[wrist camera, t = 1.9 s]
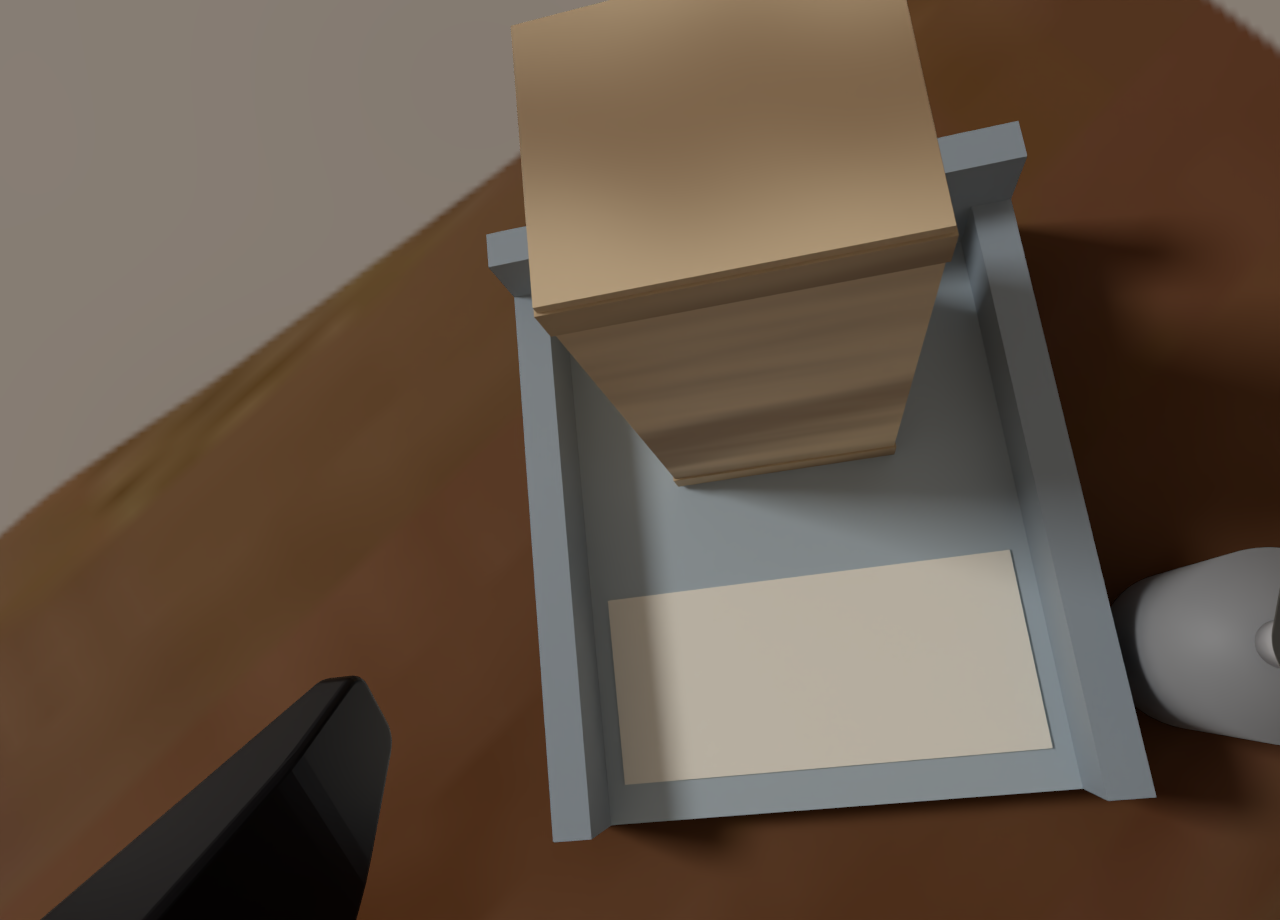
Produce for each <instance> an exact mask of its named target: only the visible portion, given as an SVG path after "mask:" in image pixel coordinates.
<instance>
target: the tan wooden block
mask: <svg viewBox="0 0 1280 920" xmlns="http://www.w3.org/2000/svg"><path fill="white" fill-rule="evenodd" d="M511 34H512V48H513V60H514V73H515V86H516V99H517V112H518V125H519V138H520V151H521V164H522V177H523V190H524V203H525V216H526V229H527V242H528V255H529V268H530V281H531V294H532V307H533V310H534V318H535V319H536V320H537V321H538V322H539V323H540V325H541V326H542V327H543V328H544V329H545V331H546V332H547V333H548V334H549V335H550V336H551V337H553V336H556V337H557V338H558V339H559V340H560V342H561V343H562V344H563V345H564V346H565V348H566V349H567V350H568V351H569V352H570V354H571V355H572V356H573V357H574V358H575V360H576V361H577V362H578V363H579V364H580V366H581V367H582V368H583V369H584V370H585V372H586V373H587V374H588V375H589V376H590V378H591V379H592V380H593V381H594V382H595V384H596V385H597V386H598V387H599V388H600V390H601V391H602V392H603V393H604V394H605V396H606V397H607V398H608V399H609V400H610V402H611V403H612V404H613V405H614V406H615V408H616V409H617V410H618V411H619V412H620V414H621V415H622V416H623V417H624V418H625V420H626V421H627V422H628V423H629V424H630V426H631V427H632V428H633V429H634V430H635V432H636V433H637V434H638V435H639V436H640V438H641V439H642V440H643V441H644V442H645V444H646V445H647V446H648V447H649V448H650V450H651V451H652V452H653V453H654V454H655V456H656V457H657V458H658V459H659V460H660V462H661V463H662V464H663V465H664V466H665V468H666V469H667V470H668V471H669V472H670V474H671V475H672V476H673V481H674V482H675V483H676V485H677V486H678V487H680V486H687V485H693V484H700V483H707V482H713V481H720V480H727V479H733V478H740V477H747V476H753V475H760V474H767V473H773V472H780V471H787V470H793V469H800V468H807V467H814V466H820V465H827V464H834V463H840V462H847V461H854V460H860V459H867V458H874V457H880V456H887V455H894V454H895V450H896V443H895V441H896V437H897V434H898V430H899V427H900V423H901V420H902V416H903V413H904V409H905V406H906V402H907V398H908V395H909V391H910V388H911V384H912V381H913V377H914V374H915V370H916V367H917V363H918V360H919V356H920V352H921V349H922V345H923V342H924V338H925V335H926V331H927V328H928V324H929V321H930V317H931V314H932V310H933V306H934V303H935V299H936V296H937V292H938V289H939V285H940V282H941V278H942V275H943V271H944V267H945V264H946V263H947V262H951V260H952V257H953V253H954V250H955V247H956V243H957V240H958V236H959V233H958V229H957V224H956V220H955V215H954V211H953V206H952V202H951V197H950V193H949V189H948V184H947V180H946V175H945V171H944V166H943V162H942V157H941V153H940V148H939V144H938V139H937V135H936V130H935V126H934V121H933V117H932V112H931V108H930V103H929V99H928V94H927V90H926V85H925V81H924V76H923V72H922V67H921V63H920V58H919V54H918V49H917V45H916V40H915V36H914V32H913V27H912V23H911V18H910V14H909V9H908V5H907V0H609V1H605V2H601V3H597V4H593V5H590V6H586V7H582V8H578V9H574V10H571V11H567V12H563V13H559V14H555V15H551V16H547V17H543V18H539V19H536V20H532V21H528V22H524V23H520V24H517V25H513V26H511Z"/></svg>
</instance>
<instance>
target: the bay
mask: <svg viewBox="0 0 1280 920" xmlns="http://www.w3.org/2000/svg"><path fill="white" fill-rule="evenodd" d="M937 139H938V144H939V148H940V153H941V157H942V162H943V166H944V171H945V175H946V180H947V184H948V189H949V193H950V197H951V202H952V206H953V211H954V215H955V220H956V224H957V229H958V233H959V236H958V240H957V243H956V247H955V250H954V253H953V257H952V260H951V262H947V263H946V264H945V267H944V271H943V275H942V278H941V282H940V285H939V289H938V292H937V296H936V299H935V303H934V306H933V310H932V314H931V317H930V321H929V324H928V328H927V331H926V335H925V338H924V342H923V345H922V349H921V352H920V356H919V360H918V363H917V367H916V370H915V374H914V377H913V381H912V384H911V388H910V391H909V395H908V398H907V402H906V406H905V409H904V413H903V416H902V420H901V423H900V427H899V430H898V434H897V437H896V441H895V443H896V450H895V454H894V455H887V456H880V457H874V458H867V459H860V460H854V461H847V462H840V463H834V464H827V465H820V466H814V467H807V468H800V469H793V470H787V471H780V472H773V473H767V474H760V475H753V476H747V477H740V478H733V479H727V480H720V481H713V482H707V483H700V484H693V485H687V486H680V487H678V486H677V485H676V483H675V482H674V481H673V476H672V475H671V474H670V472H669V471H668V470H667V469H666V468H665V466H664V465H663V464H662V463H661V462H660V460H659V459H658V458H657V457H656V456H655V454H654V453H653V452H652V451H651V450H650V448H649V447H648V446H647V445H646V444H645V442H644V441H643V440H642V439H641V438H640V436H639V435H638V434H637V433H636V432H635V430H634V429H633V428H632V427H631V426H630V424H629V423H628V422H627V421H626V420H625V418H624V417H623V416H622V415H621V414H620V412H619V411H618V410H617V409H616V408H615V406H614V405H613V404H612V403H611V402H610V400H609V399H608V398H607V397H606V396H605V394H604V393H603V392H602V391H601V390H600V388H599V387H598V386H597V385H596V384H595V382H594V381H593V380H592V379H591V378H590V376H589V375H588V374H587V373H586V372H585V370H584V369H583V368H582V367H581V366H580V364H579V363H578V362H577V361H576V360H575V358H574V357H573V356H572V355H571V354H570V352H569V351H568V350H567V349H566V348H565V346H564V345H563V344H562V343H561V342H560V340H559V339H558V338H557V337H556V336H553V337H551V336H550V335H549V334H548V333H547V332H546V331H545V329H544V328H543V327H542V326H541V325H540V323H539V322H538V321H537V320H536V319H535V318H534V310H533V307H532V294H531V281H530V268H529V255H528V242H527V229H526V226H525V227H520V228H515V229H511V230H506V231H501V232H497V233H492V234H487V250H488V266H489V268H490V269H491V271H492V272H493V273H494V274H495V275H496V276H497V278H498V279H499V280H500V281H501V282H502V283H503V285H504V286H505V287H506V288H507V289H508V290H509V292H510V293H511V294H512V295H513V296H514V299H515V313H516V327H517V341H518V355H519V369H520V383H521V397H522V411H523V425H524V439H525V453H526V467H527V481H528V495H529V509H530V523H531V537H532V551H533V565H534V579H535V593H536V607H537V621H538V635H539V649H540V664H541V678H542V692H543V706H544V720H545V734H546V748H547V762H548V776H549V790H550V804H551V818H552V832H553V842H563V841H576V840H590V839H593V838H594V837H595V836H597V835H598V834H600V833H601V832H602V831H604V830H605V829H607V828H608V827H609V826H611V825H620V824H633V823H646V822H659V821H672V820H685V819H698V818H711V817H724V816H736V815H749V814H762V813H775V812H788V811H801V810H814V809H827V808H840V807H853V806H866V805H879V804H892V803H905V802H918V801H931V800H944V799H956V798H969V797H982V796H995V795H1008V794H1021V793H1034V792H1047V791H1060V790H1073V789H1085V790H1087V791H1089V792H1091V793H1093V794H1095V795H1097V796H1099V797H1101V798H1103V799H1105V800H1107V801H1113V800H1127V799H1140V798H1154V797H1156V793H1155V789H1154V785H1153V781H1152V777H1151V773H1150V769H1149V764H1148V760H1147V756H1146V752H1145V748H1144V744H1143V740H1142V736H1141V732H1140V727H1139V723H1138V719H1137V715H1136V711H1135V707H1134V706H1136V707H1137V708H1138V709H1139V710H1141V711H1142V712H1144V713H1145V714H1147V715H1149V716H1150V717H1152V718H1154V719H1156V720H1158V721H1160V722H1163V723H1166V724H1168V725H1171V726H1175V727H1180V728H1184V729H1190V730H1196V731H1201V732H1207V733H1213V734H1219V735H1224V736H1230V737H1236V738H1242V739H1247V740H1253V741H1259V742H1264V743H1270V744H1276V745H1280V666H1279V664H1278V662H1277V660H1276V657H1275V654H1274V651H1273V647H1272V639H1271V635H1272V627H1273V622H1274V616H1275V611H1276V606H1277V600H1278V595H1279V589H1280V548H1273V547H1264V548H1252V549H1247V550H1241V551H1238V552H1234V553H1231V554H1227V555H1224V556H1220V557H1216V558H1213V559H1209V560H1206V561H1202V562H1199V563H1195V564H1192V565H1188V566H1185V567H1181V568H1178V569H1174V570H1171V571H1167V572H1164V573H1160V574H1157V575H1153V576H1150V577H1147V578H1145V579H1142V580H1140V581H1138V582H1136V583H1135V584H1133V585H1131V586H1130V587H1128V588H1127V589H1126V590H1125V591H1124V592H1123V593H1121V594H1120V596H1119V597H1118V598H1117V599H1116V600H1115V601H1114V603H1113V605H1112V606H1111V608H1110V604H1109V600H1108V596H1107V592H1106V588H1105V584H1104V580H1103V575H1102V571H1101V567H1100V563H1099V559H1098V555H1097V551H1096V547H1095V543H1094V539H1093V534H1092V530H1091V526H1090V522H1089V518H1088V514H1087V510H1086V506H1085V502H1084V497H1083V493H1082V489H1081V485H1080V481H1079V477H1078V473H1077V469H1076V465H1075V460H1074V456H1073V452H1072V448H1071V444H1070V440H1069V436H1068V432H1067V428H1066V424H1065V419H1064V415H1063V411H1062V407H1061V403H1060V399H1059V395H1058V391H1057V387H1056V382H1055V378H1054V374H1053V370H1052V366H1051V362H1050V358H1049V354H1048V350H1047V345H1046V341H1045V337H1044V333H1043V329H1042V325H1041V321H1040V317H1039V313H1038V309H1037V304H1036V300H1035V296H1034V292H1033V288H1032V284H1031V280H1030V276H1029V272H1028V267H1027V263H1026V259H1025V255H1024V251H1023V247H1022V243H1021V239H1020V235H1019V230H1018V226H1017V222H1016V218H1015V214H1014V210H1013V206H1012V202H1011V197H1012V195H1013V192H1014V189H1015V187H1016V184H1017V181H1018V179H1019V176H1020V174H1021V171H1022V168H1023V166H1024V163H1025V161H1026V158H1027V153H1026V149H1025V146H1024V142H1023V138H1022V134H1021V130H1020V126H1019V122H1018V121H1016V122H1011V123H1006V124H1002V125H997V126H992V127H988V128H983V129H978V130H974V131H969V132H964V133H960V134H955V135H950V136H946V137H941V138H937Z"/></svg>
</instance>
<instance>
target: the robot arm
mask: <svg viewBox="0 0 1280 920" xmlns="http://www.w3.org/2000/svg"><path fill="white" fill-rule="evenodd" d="M1271 639H1272V647H1273V651H1274V654H1275V657H1276V660H1277V662H1278V664H1279V666H1280V589H1279V595H1278V600H1277V606H1276V611H1275V616H1274V622H1273V627H1272V635H1271ZM391 747H392V738H391V732H390V728H389V725H388V723H387V721H386V719H385V718H384V716H383V714H382V712H381V710H380V708H379V706H378V704H377V702H376V701H375V699H374V697H373V695H372V693H371V691H370V689H369V687H368V686H367V684H366V682H365V681H364V680H363V679H361V678H360V677H358V676H345V677H336V678H328V679H325V680H322V681H320V682H319V683H317V684H316V685H315V686H314V687H312V688H311V689H310V690H309V691H308V692H307V693H305V694H304V695H303V696H302V697H301V698H300V699H298V700H297V701H296V702H295V703H294V704H293V705H291V706H290V707H289V708H288V709H287V710H285V711H284V712H283V713H282V714H281V715H280V716H278V717H277V718H276V719H275V720H274V721H273V722H271V723H270V724H269V725H268V726H267V727H266V728H264V729H263V730H262V731H261V732H260V733H259V734H257V735H256V736H255V737H254V738H253V739H252V740H250V741H249V742H248V743H247V744H246V745H244V746H243V747H242V748H241V749H240V750H239V751H237V752H236V753H235V754H234V755H233V756H232V757H230V758H229V759H228V760H227V761H226V762H225V763H223V764H222V765H221V766H220V767H219V768H218V769H216V770H215V771H214V772H213V773H212V774H210V775H209V776H208V777H207V778H206V779H205V780H203V781H202V782H201V783H200V784H199V785H198V786H196V787H195V788H194V789H193V790H192V791H191V792H189V793H188V794H187V795H186V796H185V797H184V798H182V799H181V800H180V801H179V802H178V803H177V804H175V805H174V806H173V807H172V808H171V809H169V810H168V811H167V812H166V813H165V814H164V815H162V816H161V817H160V818H159V819H158V820H157V821H155V822H154V823H153V824H152V825H151V826H150V827H148V828H147V829H146V830H145V831H144V832H143V833H141V834H140V835H139V836H138V837H137V838H136V839H134V840H133V841H132V842H131V843H130V844H128V845H127V846H126V847H125V848H124V849H123V850H121V851H120V852H119V853H118V854H117V855H116V856H114V857H113V858H112V859H111V860H110V861H109V862H107V863H106V864H105V865H104V866H103V867H102V868H100V869H99V870H98V871H97V872H96V873H95V874H93V875H92V876H91V877H90V878H89V879H87V880H86V881H85V882H84V883H83V884H82V885H80V886H79V887H78V888H77V889H76V890H75V891H73V892H72V893H71V894H70V895H69V896H68V897H66V898H65V899H64V900H63V901H62V902H61V903H59V904H58V905H57V906H56V907H55V908H54V909H52V910H51V911H50V912H49V913H48V914H46V915H45V916H44V917H43V918H42V919H41V920H356V918H357V915H358V911H359V908H360V904H361V900H362V896H363V893H364V889H365V885H366V880H367V876H368V871H369V867H370V862H371V857H372V851H373V846H374V840H375V835H376V830H377V824H378V819H379V813H380V808H381V803H382V797H383V792H384V787H385V781H386V776H387V770H388V765H389V760H390V754H391Z"/></svg>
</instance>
